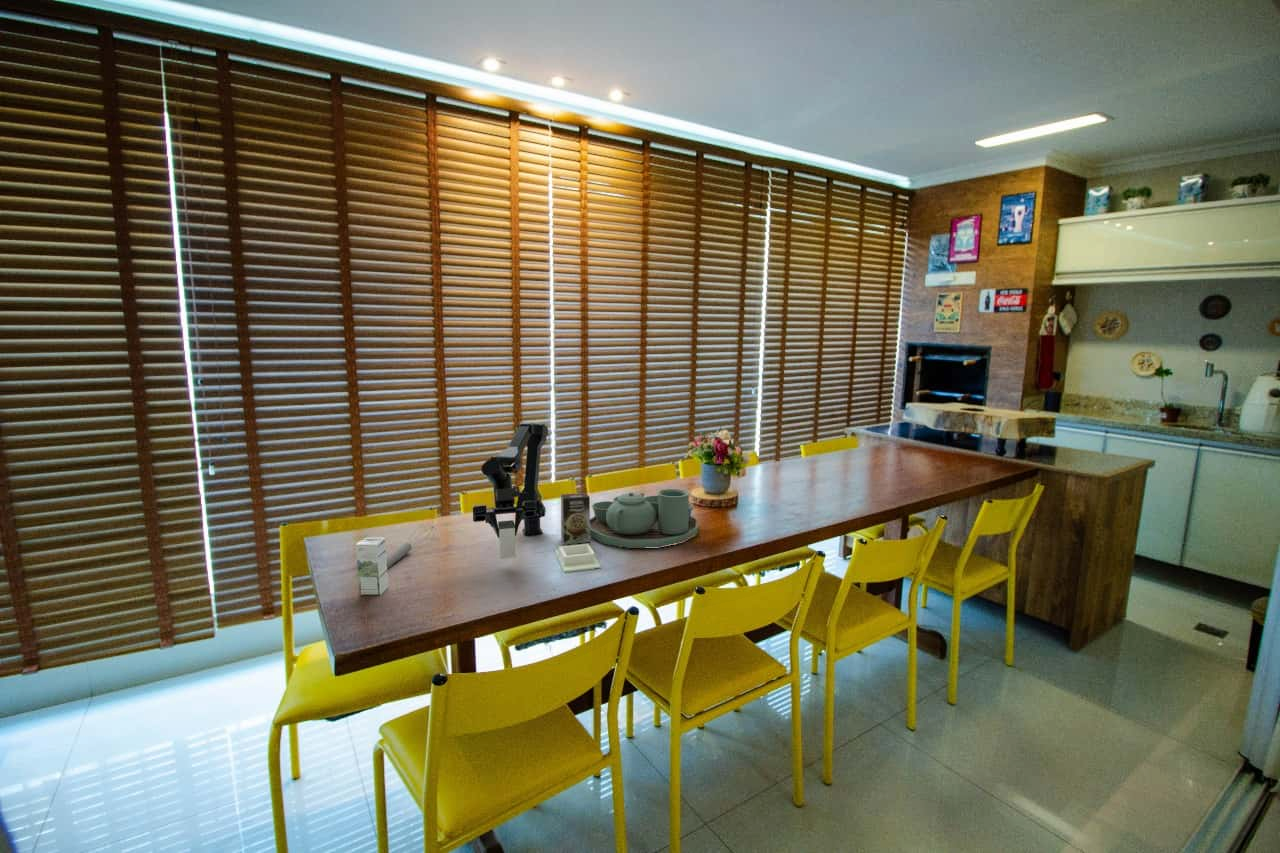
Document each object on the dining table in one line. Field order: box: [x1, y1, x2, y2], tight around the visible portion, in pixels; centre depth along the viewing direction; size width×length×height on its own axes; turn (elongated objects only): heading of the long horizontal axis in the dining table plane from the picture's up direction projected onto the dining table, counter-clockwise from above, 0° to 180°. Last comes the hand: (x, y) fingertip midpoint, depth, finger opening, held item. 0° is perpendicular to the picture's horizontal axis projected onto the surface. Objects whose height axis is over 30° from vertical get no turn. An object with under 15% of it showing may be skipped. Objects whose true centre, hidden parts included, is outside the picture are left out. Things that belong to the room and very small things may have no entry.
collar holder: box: [554, 543, 602, 574], centre depth 176 cm, size 18×11×3 cm, turn 17°
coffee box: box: [560, 492, 591, 546], centre depth 192 cm, size 9×6×16 cm
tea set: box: [590, 488, 698, 549], centre depth 204 cm, size 40×40×16 cm
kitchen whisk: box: [386, 522, 438, 570], centre depth 183 cm, size 6×34×6 cm, turn 173°
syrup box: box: [355, 537, 389, 596], centre depth 153 cm, size 6×6×14 cm
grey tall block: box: [497, 519, 517, 560], centre depth 169 cm, size 4×4×10 cm
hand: (507, 536), depth 167 cm, fingers closed on grey tall block, 4 cm apart
